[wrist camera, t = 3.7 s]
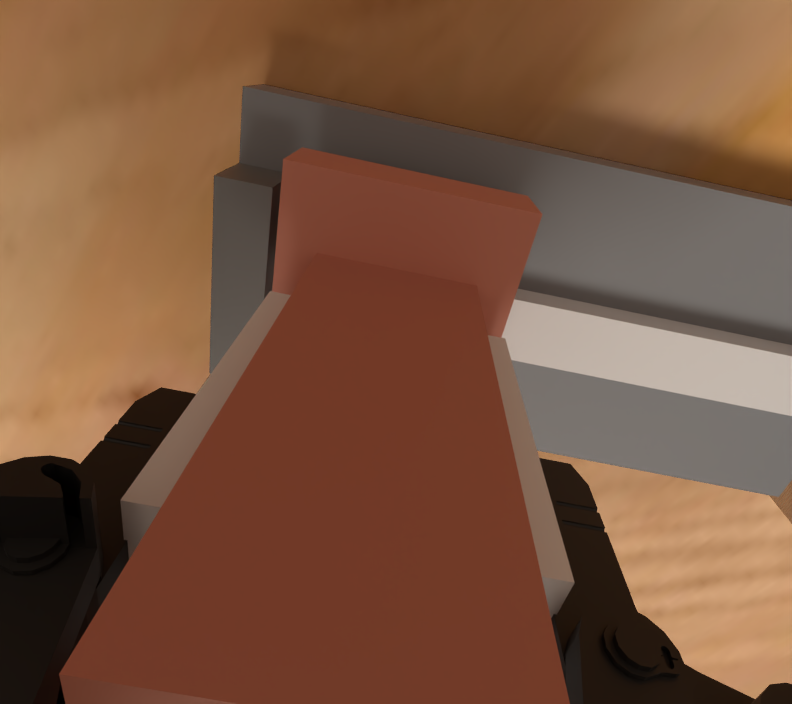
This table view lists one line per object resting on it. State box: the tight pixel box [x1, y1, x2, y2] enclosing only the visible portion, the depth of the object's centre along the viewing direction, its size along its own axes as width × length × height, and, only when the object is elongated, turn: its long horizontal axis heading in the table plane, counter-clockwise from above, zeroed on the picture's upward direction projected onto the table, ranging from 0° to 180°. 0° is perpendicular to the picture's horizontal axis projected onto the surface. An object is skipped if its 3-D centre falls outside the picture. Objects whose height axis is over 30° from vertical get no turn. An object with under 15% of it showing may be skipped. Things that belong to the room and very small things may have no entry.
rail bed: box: [210, 84, 792, 497], centre depth 17 cm, size 21×10×4 cm, turn 79°
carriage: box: [59, 147, 570, 704], centre depth 10 cm, size 6×8×12 cm
